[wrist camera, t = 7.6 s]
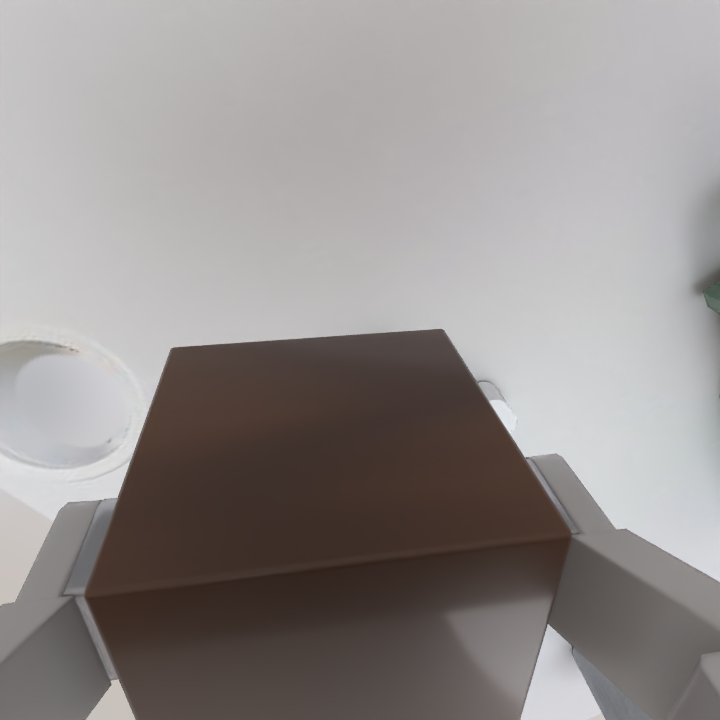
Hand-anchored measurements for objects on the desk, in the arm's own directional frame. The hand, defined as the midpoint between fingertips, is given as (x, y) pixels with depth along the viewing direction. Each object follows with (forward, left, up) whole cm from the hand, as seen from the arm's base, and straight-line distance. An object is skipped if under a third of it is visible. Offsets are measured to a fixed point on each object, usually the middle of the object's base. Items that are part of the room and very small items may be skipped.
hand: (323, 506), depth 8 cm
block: (0, 0, -2) cm, 2 cm away
